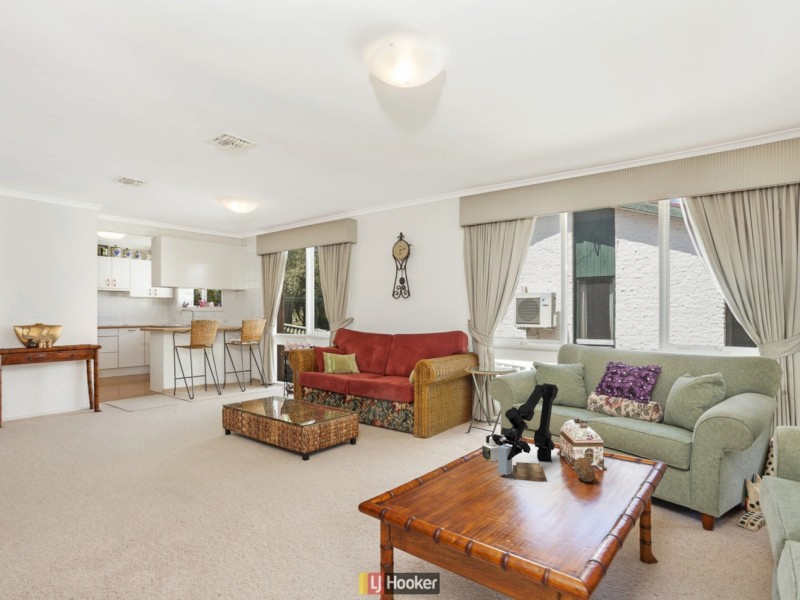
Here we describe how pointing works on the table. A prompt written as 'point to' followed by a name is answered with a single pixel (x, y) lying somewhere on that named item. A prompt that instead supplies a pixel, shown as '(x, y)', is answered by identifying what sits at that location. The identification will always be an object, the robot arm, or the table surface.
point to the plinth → (529, 477)
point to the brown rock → (584, 469)
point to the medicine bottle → (490, 449)
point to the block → (504, 459)
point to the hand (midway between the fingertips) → (503, 458)
